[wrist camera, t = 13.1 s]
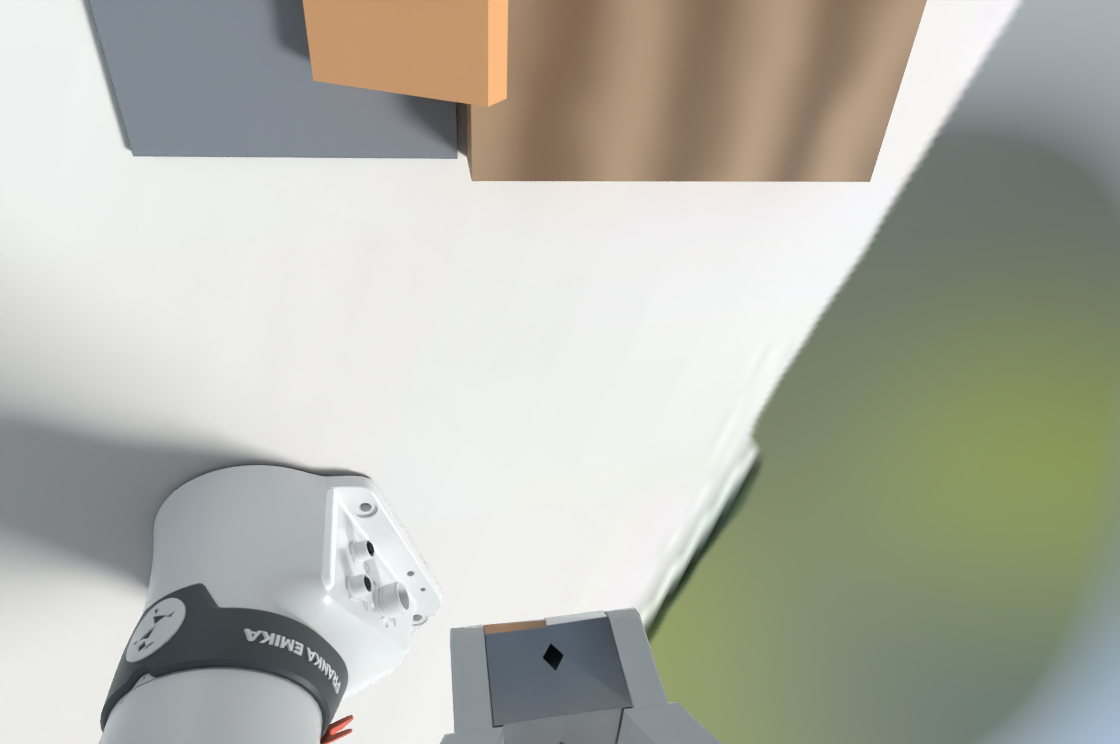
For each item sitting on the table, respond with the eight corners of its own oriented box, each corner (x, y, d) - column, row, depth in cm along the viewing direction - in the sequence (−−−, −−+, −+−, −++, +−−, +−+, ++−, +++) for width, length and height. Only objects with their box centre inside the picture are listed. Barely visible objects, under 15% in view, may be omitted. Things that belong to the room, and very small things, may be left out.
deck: (913, -127, 33) (967, -131, 30) (833, 160, 41) (869, 181, 38) (461, -168, 30) (467, -178, 26) (467, 157, 37) (471, 180, 34)
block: (509, -56, 28) (488, -56, 26) (506, 98, 31) (488, 107, 30) (322, -71, 30) (293, -72, 29) (338, 74, 34) (313, 80, 32)
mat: (449, -171, 29) (449, -171, 29) (457, 156, 37) (457, 158, 37) (33, -209, 27) (29, -210, 26) (136, 153, 34) (133, 156, 34)
